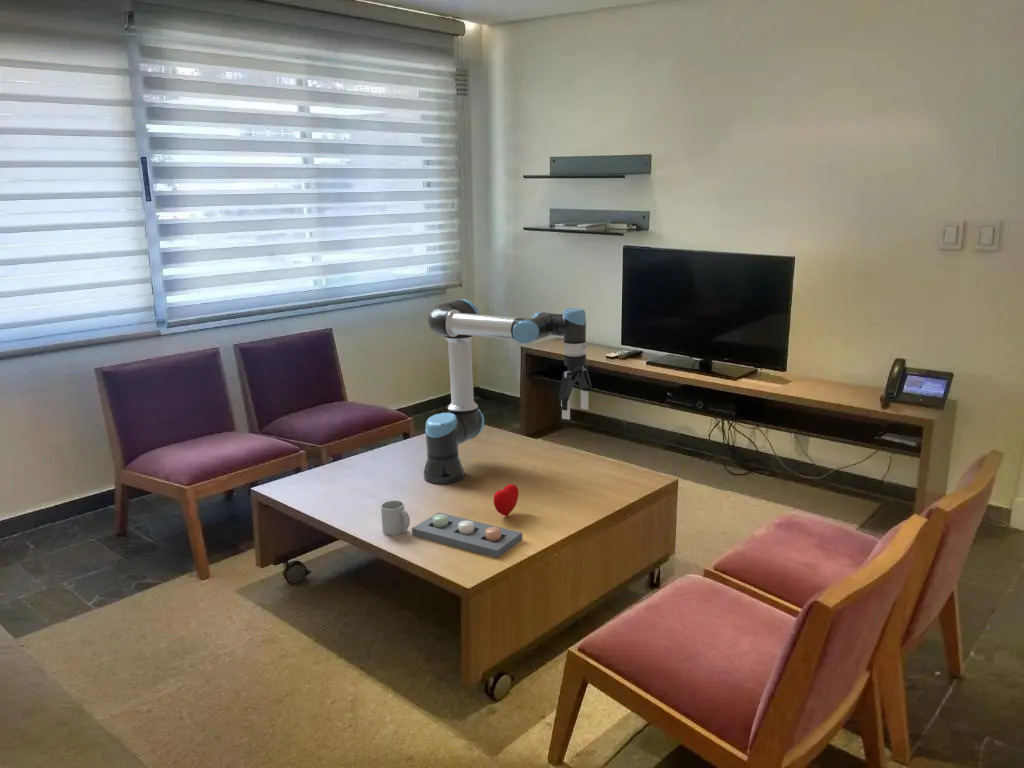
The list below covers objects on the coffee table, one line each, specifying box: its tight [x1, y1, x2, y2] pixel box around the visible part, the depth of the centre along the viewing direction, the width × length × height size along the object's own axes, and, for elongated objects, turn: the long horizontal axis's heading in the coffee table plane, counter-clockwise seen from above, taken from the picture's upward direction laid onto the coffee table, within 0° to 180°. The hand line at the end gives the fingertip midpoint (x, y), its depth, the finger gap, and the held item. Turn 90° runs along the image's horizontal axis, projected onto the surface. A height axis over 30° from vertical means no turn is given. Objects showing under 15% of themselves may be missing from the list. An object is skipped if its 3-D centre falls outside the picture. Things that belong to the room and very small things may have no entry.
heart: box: [493, 483, 520, 517], centre depth 261 cm, size 12×5×10 cm, turn 148°
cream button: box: [458, 519, 474, 536], centre depth 246 cm, size 5×5×3 cm
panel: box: [411, 512, 523, 559], centre depth 247 cm, size 32×14×2 cm, turn 58°
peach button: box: [485, 526, 501, 543], centre depth 241 cm, size 5×5×3 cm
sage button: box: [432, 513, 448, 529], centre depth 252 cm, size 5×5×3 cm
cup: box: [380, 500, 411, 536], centre depth 252 cm, size 7×10×9 cm
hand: (575, 413), depth 277 cm, fingers open, 13 cm apart
